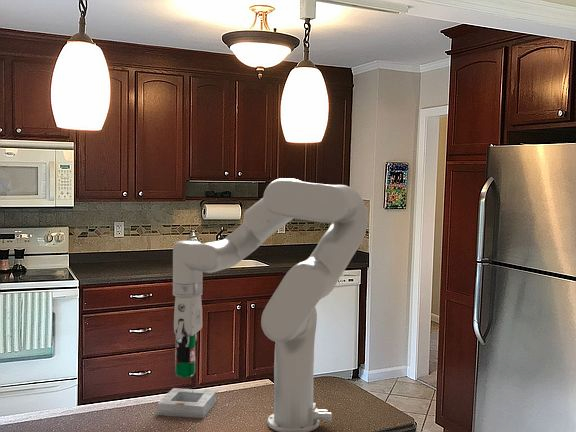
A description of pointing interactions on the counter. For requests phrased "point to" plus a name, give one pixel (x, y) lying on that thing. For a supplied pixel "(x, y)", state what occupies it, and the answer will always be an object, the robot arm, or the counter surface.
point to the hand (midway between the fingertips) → (187, 358)
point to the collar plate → (186, 403)
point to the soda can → (186, 368)
